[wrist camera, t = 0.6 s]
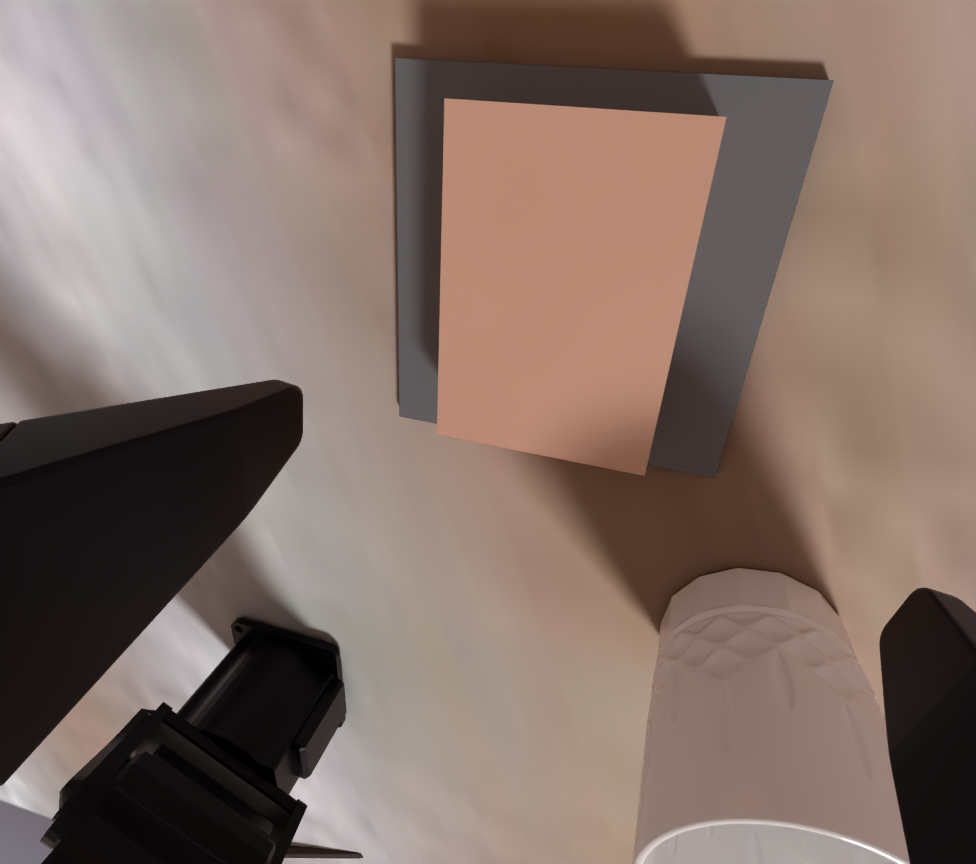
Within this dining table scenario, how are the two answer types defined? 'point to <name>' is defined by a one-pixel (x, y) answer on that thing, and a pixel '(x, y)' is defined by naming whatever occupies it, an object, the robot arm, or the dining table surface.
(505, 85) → the rubber mat
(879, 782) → the white cup
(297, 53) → the dining table surface
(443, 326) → the terracotta tile
